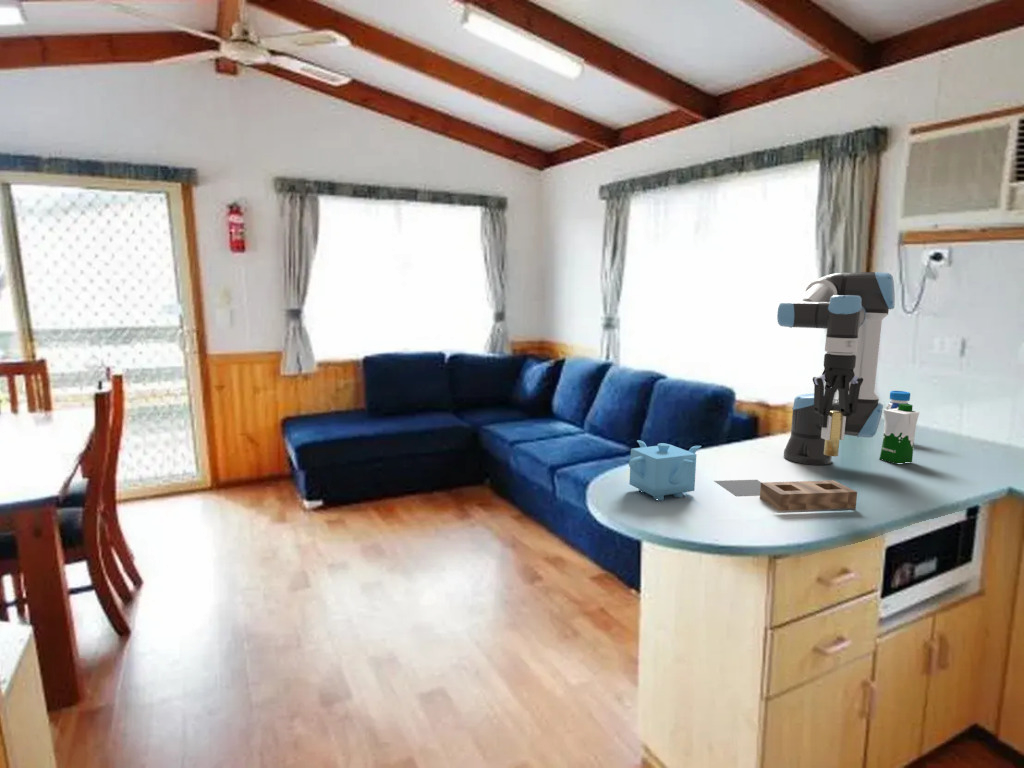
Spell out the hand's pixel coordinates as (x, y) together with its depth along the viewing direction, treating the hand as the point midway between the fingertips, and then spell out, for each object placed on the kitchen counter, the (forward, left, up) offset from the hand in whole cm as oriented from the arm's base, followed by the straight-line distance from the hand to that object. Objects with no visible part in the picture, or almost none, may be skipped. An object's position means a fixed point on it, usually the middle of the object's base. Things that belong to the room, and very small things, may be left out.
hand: (832, 438), depth 165 cm
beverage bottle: (-73, -64, -19) cm, 99 cm away
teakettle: (+42, -13, -19) cm, 48 cm away
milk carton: (-52, -38, -19) cm, 67 cm away
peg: (0, 0, -4) cm, 4 cm away
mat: (+16, -14, -19) cm, 28 cm away
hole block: (+6, 0, -19) cm, 19 cm away
